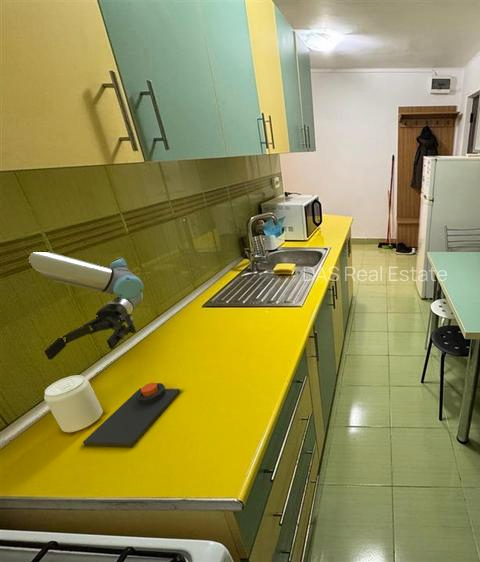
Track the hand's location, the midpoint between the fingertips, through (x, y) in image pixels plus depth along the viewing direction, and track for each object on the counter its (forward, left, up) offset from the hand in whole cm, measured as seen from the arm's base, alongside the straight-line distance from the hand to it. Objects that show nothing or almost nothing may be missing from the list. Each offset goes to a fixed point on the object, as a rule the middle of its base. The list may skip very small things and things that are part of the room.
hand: (79, 349), depth 82 cm
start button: (+17, -1, -13) cm, 21 cm away
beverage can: (+4, -9, -16) cm, 19 cm away
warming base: (+17, -7, -16) cm, 24 cm away
